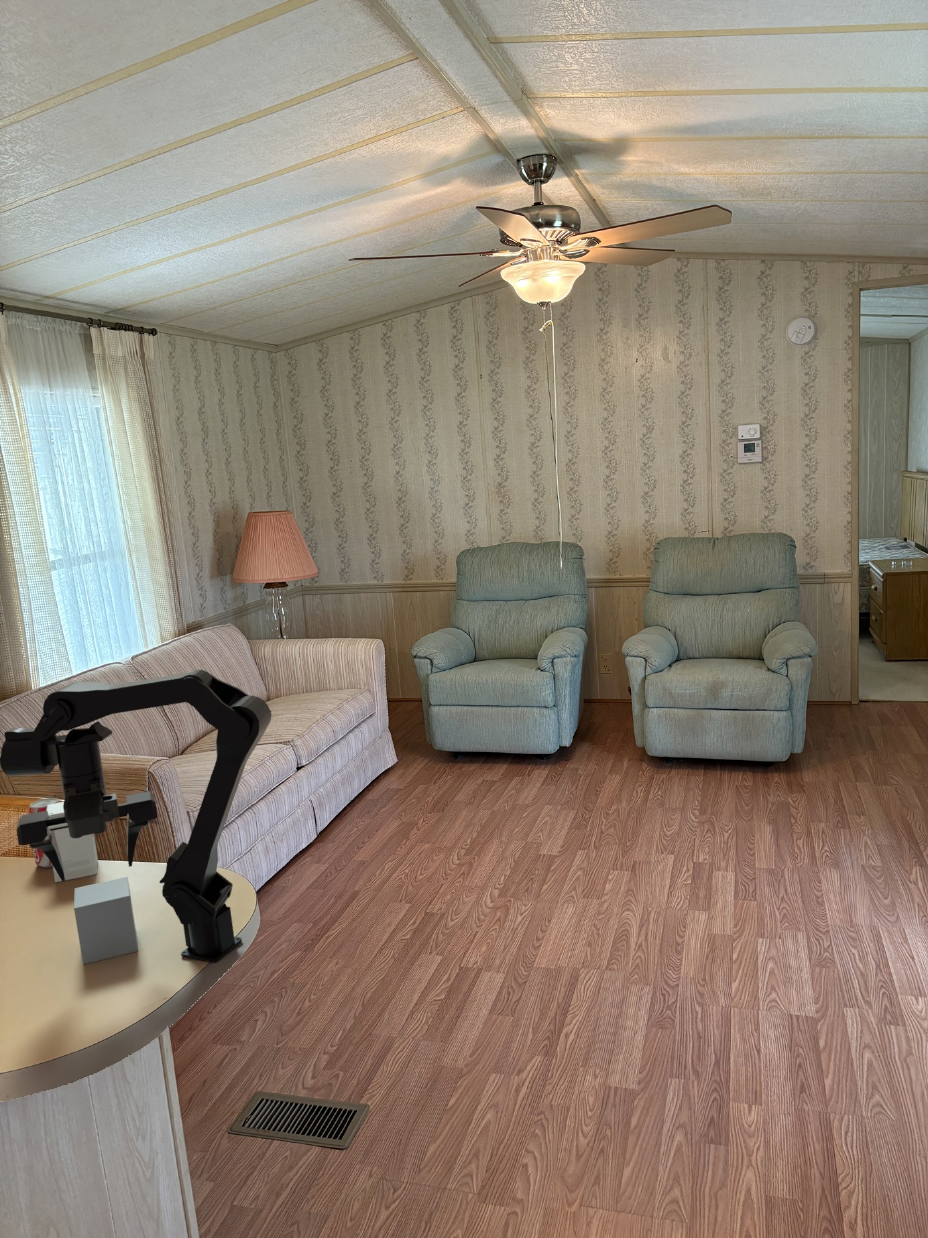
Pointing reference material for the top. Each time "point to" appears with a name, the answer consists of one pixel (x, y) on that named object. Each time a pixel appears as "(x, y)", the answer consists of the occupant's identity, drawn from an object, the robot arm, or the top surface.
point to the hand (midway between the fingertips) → (97, 872)
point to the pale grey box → (105, 920)
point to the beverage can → (34, 808)
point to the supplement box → (74, 850)
